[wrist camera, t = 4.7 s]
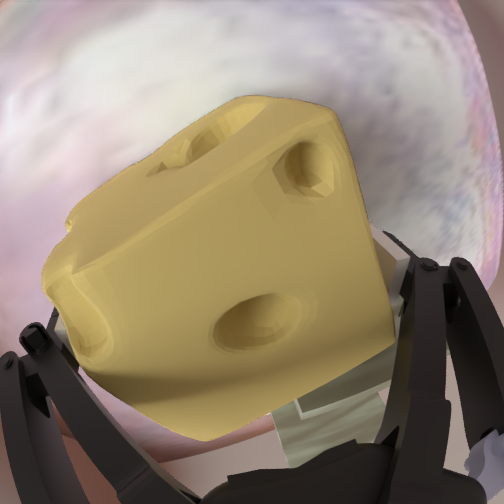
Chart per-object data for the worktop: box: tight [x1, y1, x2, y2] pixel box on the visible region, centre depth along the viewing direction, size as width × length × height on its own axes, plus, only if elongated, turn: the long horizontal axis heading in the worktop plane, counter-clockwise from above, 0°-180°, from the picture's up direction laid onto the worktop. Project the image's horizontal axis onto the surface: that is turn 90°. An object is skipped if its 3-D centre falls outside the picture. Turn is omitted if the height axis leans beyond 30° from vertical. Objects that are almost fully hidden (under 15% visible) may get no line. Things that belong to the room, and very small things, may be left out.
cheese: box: [41, 95, 396, 441], centre depth 12 cm, size 10×11×10 cm
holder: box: [266, 294, 450, 468], centre depth 22 cm, size 18×14×10 cm
